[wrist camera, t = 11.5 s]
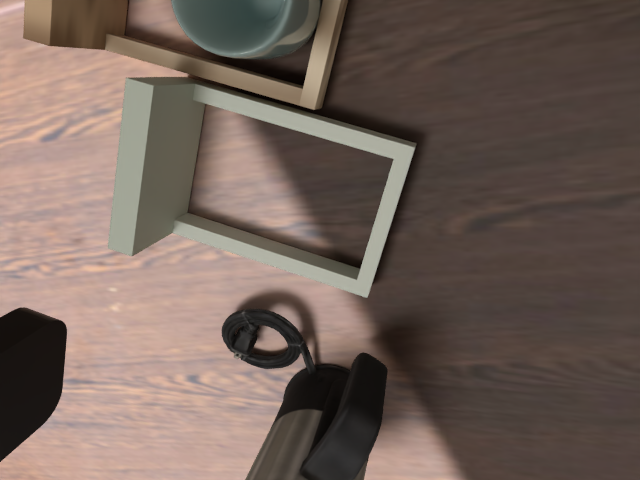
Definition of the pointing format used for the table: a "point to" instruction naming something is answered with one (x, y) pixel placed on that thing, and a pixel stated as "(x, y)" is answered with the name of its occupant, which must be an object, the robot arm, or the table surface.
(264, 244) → the frame
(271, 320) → the milk frother
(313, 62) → the wooden drawer
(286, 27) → the cup
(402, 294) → the table surface
